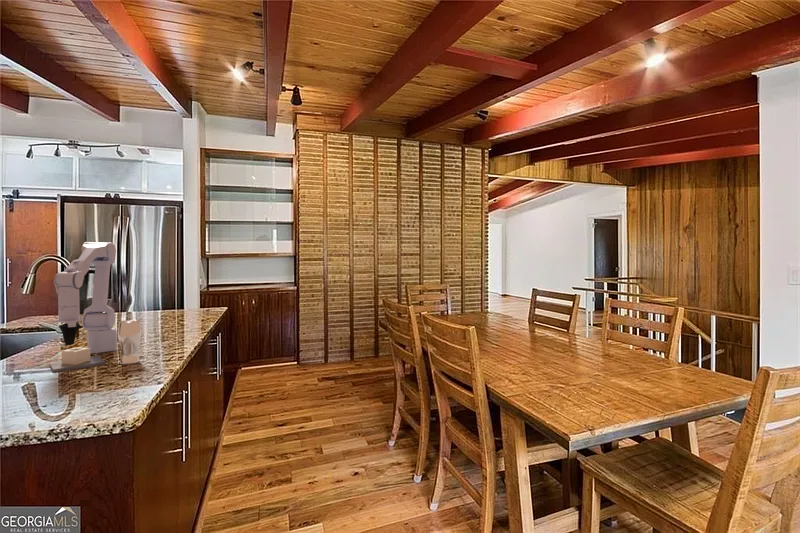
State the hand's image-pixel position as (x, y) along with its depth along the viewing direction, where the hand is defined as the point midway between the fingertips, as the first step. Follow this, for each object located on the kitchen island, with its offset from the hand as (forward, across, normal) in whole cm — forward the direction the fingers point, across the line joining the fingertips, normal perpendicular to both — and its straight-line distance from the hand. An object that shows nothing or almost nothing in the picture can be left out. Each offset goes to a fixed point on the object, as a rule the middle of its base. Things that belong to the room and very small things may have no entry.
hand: (69, 344), depth 139 cm
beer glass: (+8, +8, +16) cm, 20 cm away
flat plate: (+8, 0, +2) cm, 8 cm away
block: (+6, 0, +2) cm, 7 cm away
